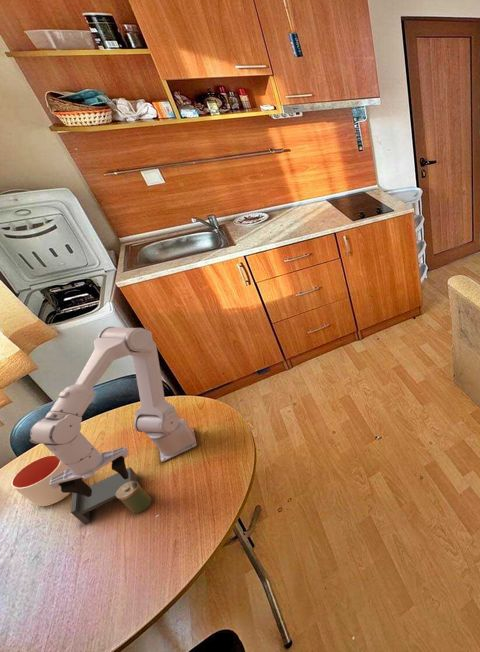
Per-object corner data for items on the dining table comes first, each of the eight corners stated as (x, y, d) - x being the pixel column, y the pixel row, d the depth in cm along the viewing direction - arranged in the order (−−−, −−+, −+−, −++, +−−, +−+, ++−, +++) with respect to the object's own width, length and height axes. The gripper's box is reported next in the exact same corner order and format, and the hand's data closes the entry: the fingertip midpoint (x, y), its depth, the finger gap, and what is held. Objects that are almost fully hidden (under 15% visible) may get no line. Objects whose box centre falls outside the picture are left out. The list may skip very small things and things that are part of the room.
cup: (54, 511, 102) (30, 491, 97) (25, 505, 104) (0, 485, 98) (90, 477, 111) (70, 457, 105) (63, 472, 112) (42, 452, 106)
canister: (151, 493, 106) (136, 476, 102) (152, 506, 103) (137, 489, 98) (130, 503, 104) (114, 486, 99) (131, 517, 101) (114, 500, 96)
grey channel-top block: (137, 475, 111) (127, 464, 107) (139, 496, 106) (128, 484, 102) (85, 500, 105) (72, 489, 101) (83, 524, 99) (70, 512, 96)
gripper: (34, 484, 84) (71, 514, 92) (115, 449, 92) (142, 479, 99) (39, 461, 89) (73, 492, 96) (115, 430, 96) (141, 461, 104)
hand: (108, 484), depth 98 cm, fingers open, 7 cm apart
